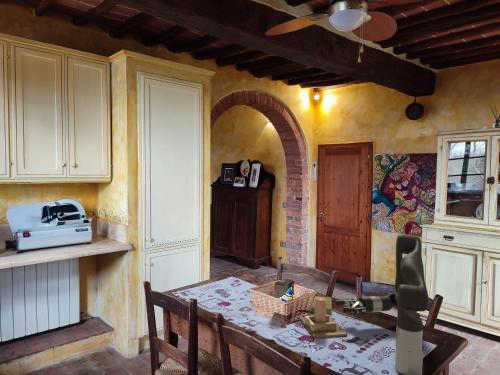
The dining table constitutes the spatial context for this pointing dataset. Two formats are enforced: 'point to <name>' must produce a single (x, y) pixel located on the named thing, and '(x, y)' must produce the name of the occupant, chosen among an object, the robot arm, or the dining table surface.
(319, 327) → the dock
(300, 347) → the dining table surface
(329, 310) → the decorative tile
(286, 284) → the coffee box
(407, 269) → the robot arm
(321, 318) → the tan wooden cylinder
